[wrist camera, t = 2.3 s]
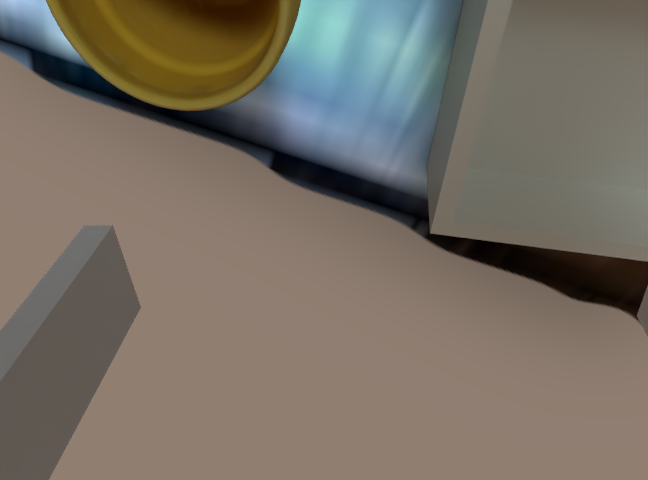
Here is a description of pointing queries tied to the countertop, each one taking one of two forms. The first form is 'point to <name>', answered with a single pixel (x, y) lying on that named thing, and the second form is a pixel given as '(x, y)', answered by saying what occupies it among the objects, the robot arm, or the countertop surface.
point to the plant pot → (179, 45)
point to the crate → (545, 127)
